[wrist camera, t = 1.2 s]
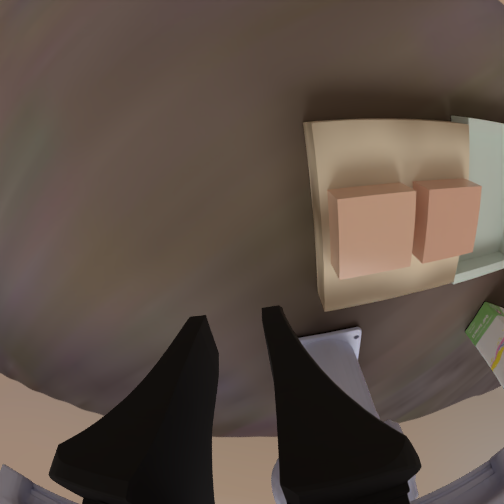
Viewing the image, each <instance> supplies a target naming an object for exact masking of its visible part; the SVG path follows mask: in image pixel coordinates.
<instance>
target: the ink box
mask: <svg viewBox="0 0 504 504" xmlns="http://www.w3.org/2000/svg"><path fill="white" fill-rule="evenodd" d="M465 333H466V334H467V336H468V337H469V338H470V339H471V341H472V342H473V343H474V345H475V346H476V348H477V349H478V350H479V352H480V353H481V355H482V356H483V357H484V359H485V360H486V362H487V363H488V365H489V366H490V368H491V369H492V371H493V372H494V374H495V375H496V377H497V379H498V380H499V382H500V384H501V385H502V387H503V389H504V308H502V307H499V306H496V305H494V304H491V303H488V302H484V304H483V305H482V307H481V308H480V310H479V312H478V313H477V315H476V316H475V318H474V319H473V321H472V322H471V323H470V325H469V327H468V328H467V329H466V331H465Z"/></svg>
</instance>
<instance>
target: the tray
mask: <svg viewBox="0 0 504 504" xmlns="http://www.w3.org/2000/svg"><path fill="white" fill-rule="evenodd" d="M451 122H457V123H463V124H469V181H472V182H474V183H476V184H478V185H480V186H482V190H481V201H480V210H479V217H478V224H477V231H476V237H475V242H474V248H473V252H472V253H467V254H463V255H459V260H458V265H457V269H456V274H455V278H454V282H452V284H456V283H459V282H463V281H466V280H469V279H473V278H476V277H479V276H482V275H485V274H488V273H491V272H494V271H497V270H500V269H503V268H504V124H503V123H498V122H493V121H487V120H481V119H475V118H468V117H460V116H452V115H451Z"/></svg>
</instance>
